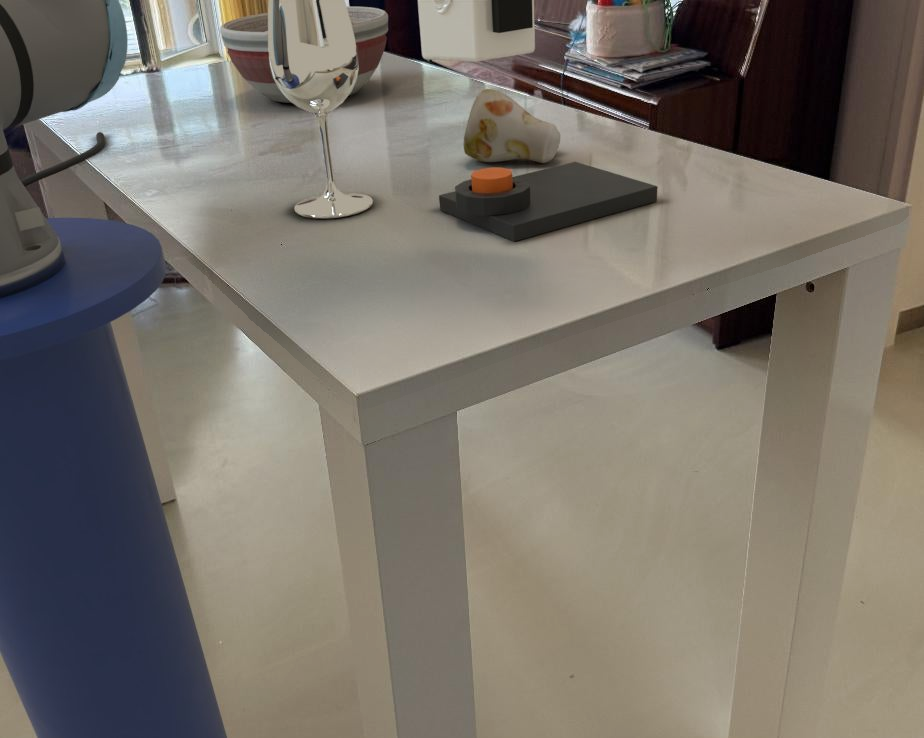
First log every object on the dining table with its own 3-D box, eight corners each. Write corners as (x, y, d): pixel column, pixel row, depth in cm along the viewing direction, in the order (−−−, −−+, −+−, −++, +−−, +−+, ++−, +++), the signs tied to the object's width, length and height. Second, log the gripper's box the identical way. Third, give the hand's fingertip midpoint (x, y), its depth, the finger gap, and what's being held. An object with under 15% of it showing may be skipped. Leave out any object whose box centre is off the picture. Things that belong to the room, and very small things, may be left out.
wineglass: (368, 191, 97) (342, -38, 86) (379, 213, 91) (353, -31, 80) (290, 200, 96) (253, -30, 85) (296, 224, 90) (257, -22, 79)
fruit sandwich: (560, 173, 99) (507, 86, 94) (486, 207, 105) (433, 127, 100) (581, 137, 103) (531, 52, 98) (509, 171, 110) (459, 93, 105)
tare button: (464, 190, 86) (463, 173, 85) (497, 182, 88) (496, 165, 87) (487, 199, 84) (486, 181, 83) (520, 190, 85) (520, 172, 84)
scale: (428, 213, 90) (425, 180, 89) (575, 175, 97) (575, 144, 96) (502, 245, 82) (500, 209, 80) (657, 201, 89) (658, 167, 87)
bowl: (200, 105, 138) (185, 27, 132) (319, 75, 152) (310, 3, 146) (308, 122, 125) (296, 36, 119) (428, 87, 139) (422, 9, 133)
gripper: (625, -462, 50) (614, 30, 62) (423, -376, 65) (447, 6, 78) (502, -472, 47) (517, 47, 59) (321, -379, 62) (363, 18, 75)
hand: (478, 23), depth 68 cm, fingers closed on jar, 8 cm apart
